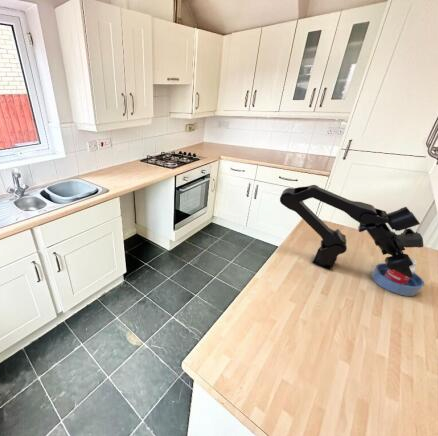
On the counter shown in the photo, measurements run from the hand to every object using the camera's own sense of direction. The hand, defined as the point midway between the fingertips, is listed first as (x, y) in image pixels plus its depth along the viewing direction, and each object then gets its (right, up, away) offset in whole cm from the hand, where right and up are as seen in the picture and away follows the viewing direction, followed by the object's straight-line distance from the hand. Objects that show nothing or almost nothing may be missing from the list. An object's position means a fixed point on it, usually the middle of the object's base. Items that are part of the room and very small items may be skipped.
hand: (408, 269), depth 87 cm
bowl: (-1, -6, +4) cm, 8 cm away
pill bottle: (-1, -6, +4) cm, 7 cm away
